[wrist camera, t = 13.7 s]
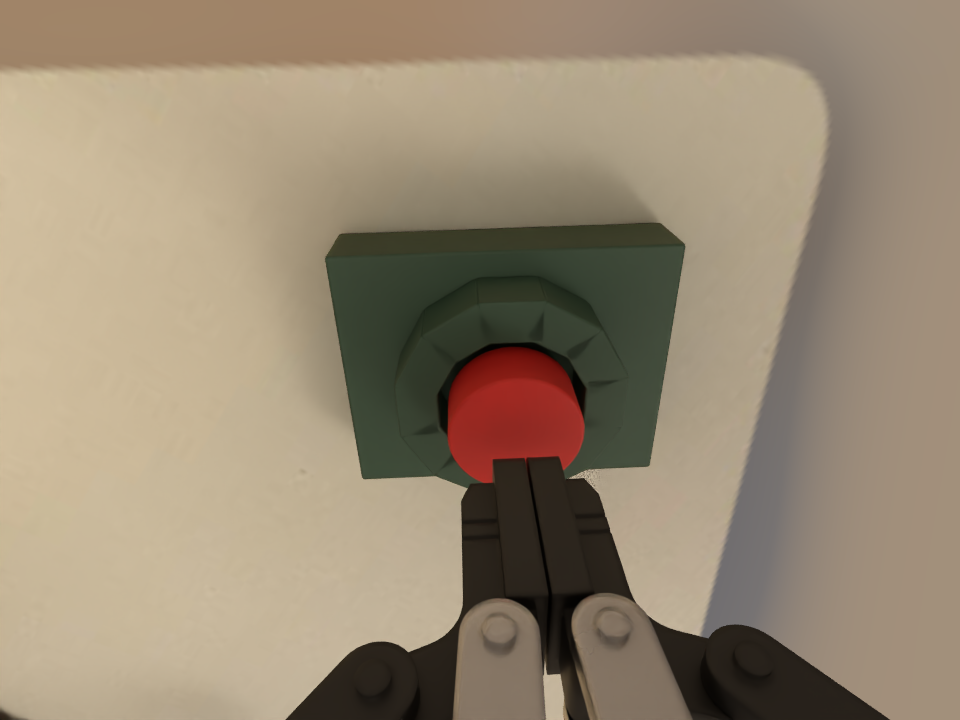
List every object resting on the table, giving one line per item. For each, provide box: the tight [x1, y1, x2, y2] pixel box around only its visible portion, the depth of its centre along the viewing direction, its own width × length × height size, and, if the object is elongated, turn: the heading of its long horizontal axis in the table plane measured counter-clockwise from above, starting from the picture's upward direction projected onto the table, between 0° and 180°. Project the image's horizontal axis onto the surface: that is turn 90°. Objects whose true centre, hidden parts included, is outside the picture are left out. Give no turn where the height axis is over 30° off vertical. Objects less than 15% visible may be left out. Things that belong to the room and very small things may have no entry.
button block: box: [325, 223, 685, 488], centre depth 17 cm, size 10×8×4 cm
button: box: [448, 347, 585, 483], centre depth 15 cm, size 4×4×2 cm
